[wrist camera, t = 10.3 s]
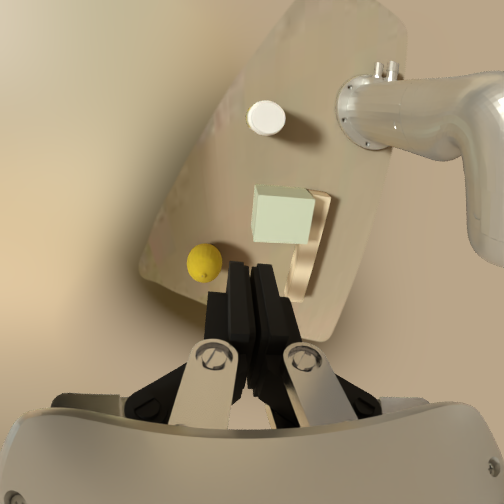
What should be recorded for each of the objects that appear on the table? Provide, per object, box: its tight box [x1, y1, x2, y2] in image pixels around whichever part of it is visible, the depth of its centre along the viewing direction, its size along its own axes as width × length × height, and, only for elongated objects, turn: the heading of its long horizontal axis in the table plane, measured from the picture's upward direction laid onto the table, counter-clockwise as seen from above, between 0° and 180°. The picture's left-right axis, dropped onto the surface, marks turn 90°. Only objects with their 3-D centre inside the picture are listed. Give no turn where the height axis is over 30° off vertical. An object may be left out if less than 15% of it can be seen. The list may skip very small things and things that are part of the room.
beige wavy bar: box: [284, 189, 331, 302], centre depth 46 cm, size 20×3×3 cm, turn 172°
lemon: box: [187, 244, 222, 283], centre depth 43 cm, size 6×6×8 cm
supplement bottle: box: [246, 100, 286, 136], centre depth 33 cm, size 5×5×8 cm
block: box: [251, 184, 315, 244], centre depth 41 cm, size 7×8×6 cm
